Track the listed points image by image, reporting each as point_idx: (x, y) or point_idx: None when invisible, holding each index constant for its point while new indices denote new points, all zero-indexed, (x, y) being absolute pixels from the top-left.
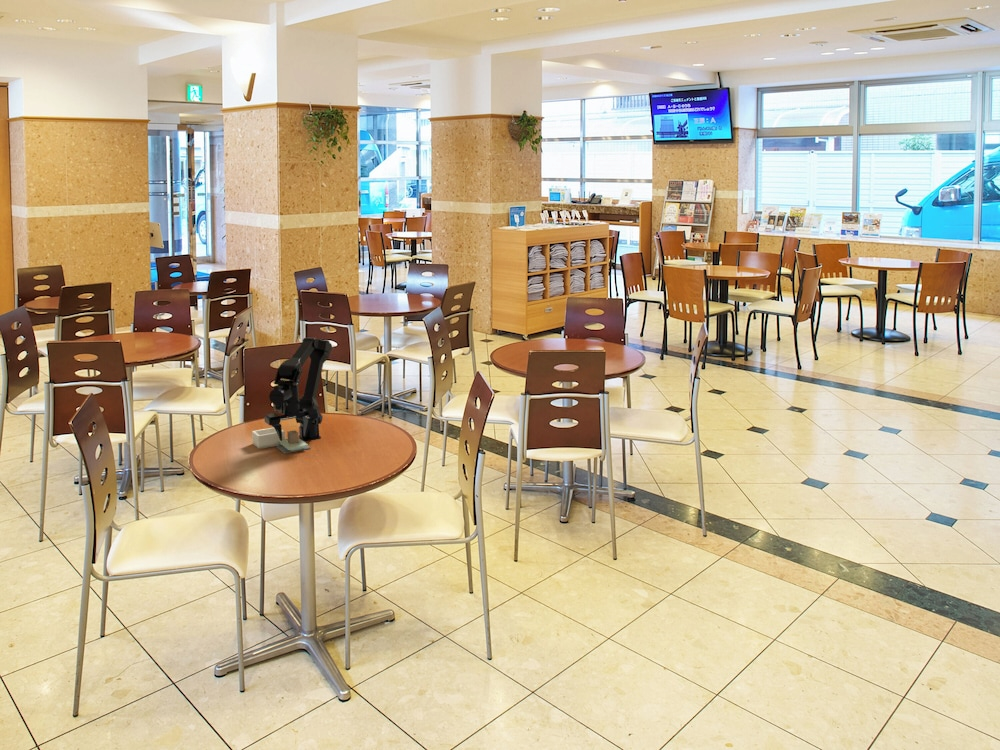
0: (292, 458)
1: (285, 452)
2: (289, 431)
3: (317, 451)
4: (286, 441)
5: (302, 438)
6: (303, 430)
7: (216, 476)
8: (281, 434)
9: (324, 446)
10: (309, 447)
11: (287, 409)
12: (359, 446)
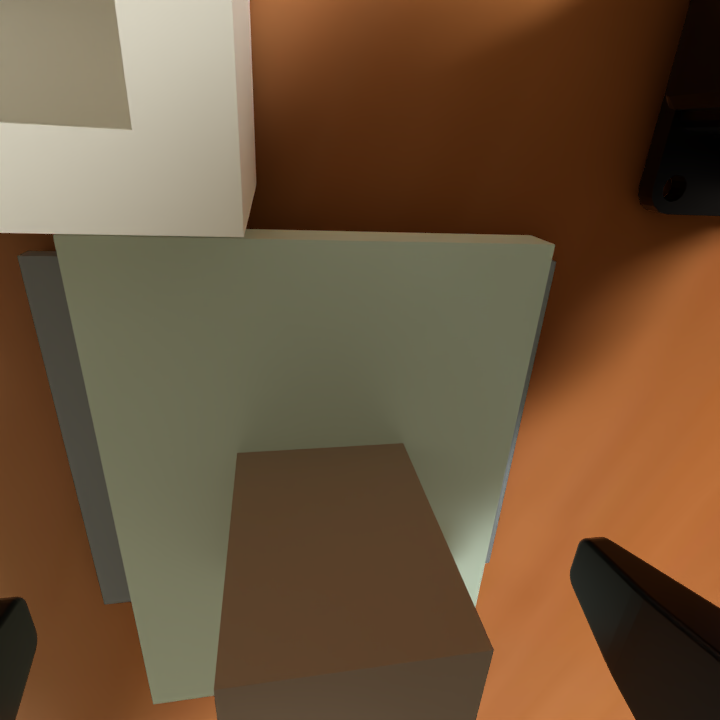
0: (175, 712)
1: (127, 601)
2: (295, 682)
3: (502, 620)
4: (223, 406)
5: (666, 104)
6: (678, 634)
7: None
8: None
9: (654, 518)
10: (487, 552)
11: None
12: None
